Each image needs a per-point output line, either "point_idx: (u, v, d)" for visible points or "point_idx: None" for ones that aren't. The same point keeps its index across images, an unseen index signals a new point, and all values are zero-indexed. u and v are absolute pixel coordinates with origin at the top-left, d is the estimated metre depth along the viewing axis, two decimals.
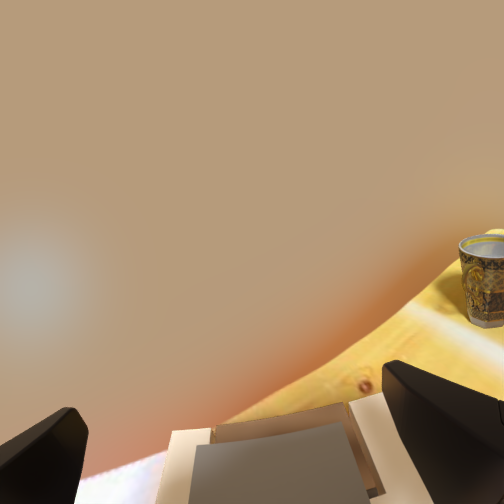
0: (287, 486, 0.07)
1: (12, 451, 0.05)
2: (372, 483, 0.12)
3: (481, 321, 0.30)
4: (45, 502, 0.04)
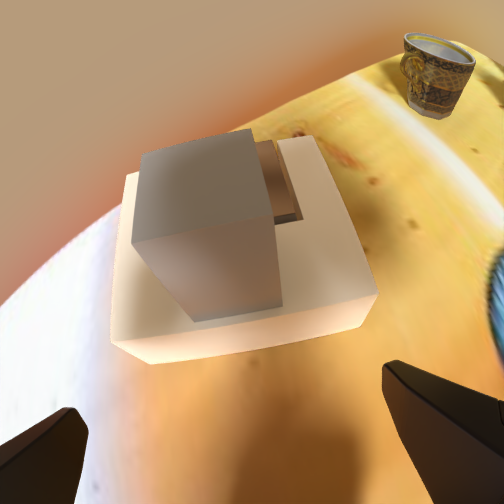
0: (206, 171, 0.12)
1: (12, 451, 0.05)
2: (292, 209, 0.20)
3: (418, 107, 0.34)
4: (45, 502, 0.04)
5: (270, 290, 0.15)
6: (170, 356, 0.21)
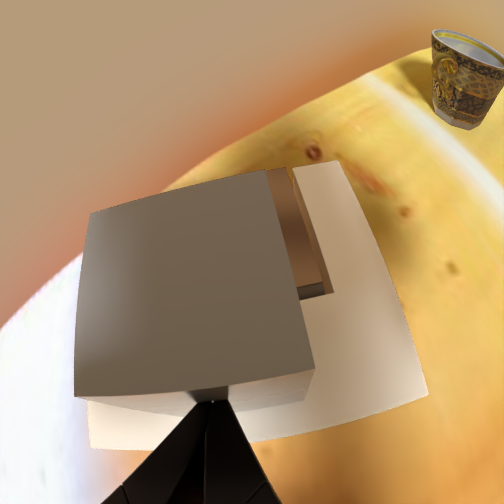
0: (189, 261, 0.07)
1: (167, 471, 0.04)
2: (318, 276, 0.15)
3: (447, 116, 0.28)
4: None
5: (290, 398, 0.10)
6: None
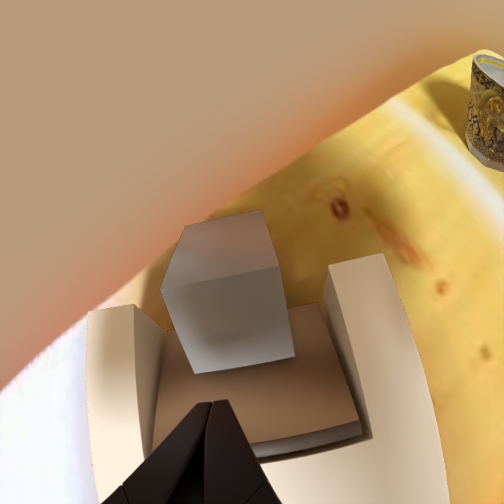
0: None
1: (167, 471, 0.04)
2: (354, 414, 0.12)
3: (483, 156, 0.24)
4: None
5: (261, 245, 0.15)
6: None
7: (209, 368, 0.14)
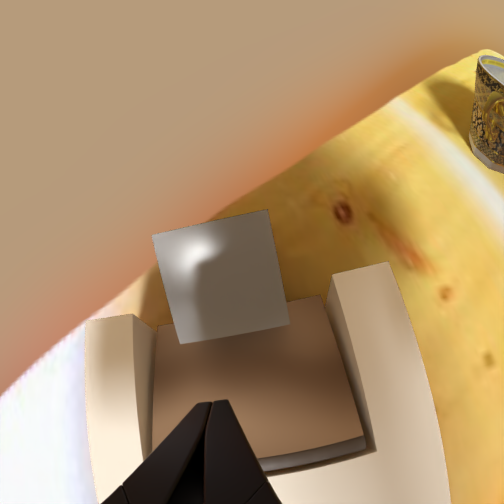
0: None
1: (167, 471, 0.04)
2: (359, 429, 0.11)
3: (487, 158, 0.24)
4: None
5: None
6: None
7: (196, 336, 0.13)
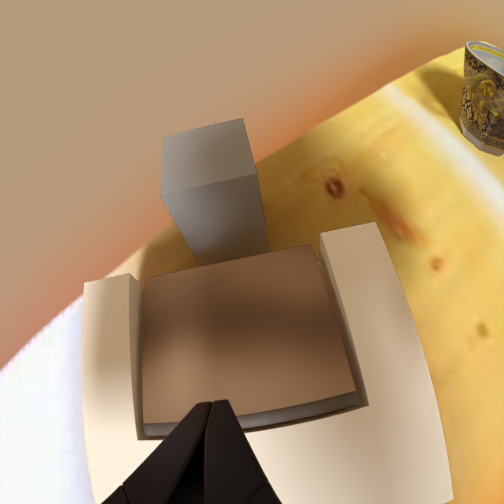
0: None
1: (167, 471, 0.04)
2: (351, 384, 0.12)
3: (477, 140, 0.24)
4: None
5: None
6: None
7: (175, 188, 0.15)
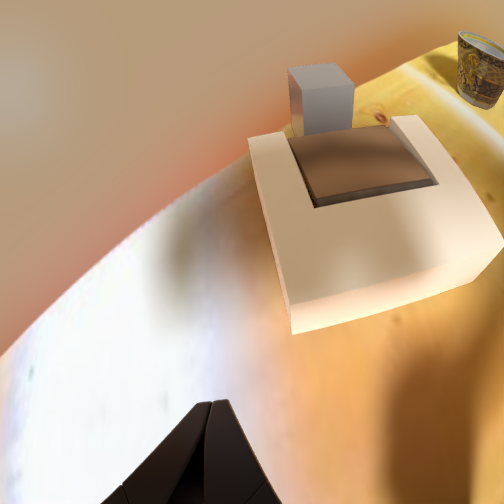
0: None
1: (167, 471, 0.04)
2: (427, 175, 0.20)
3: (470, 98, 0.33)
4: None
5: None
6: (325, 320, 0.20)
7: (310, 87, 0.24)
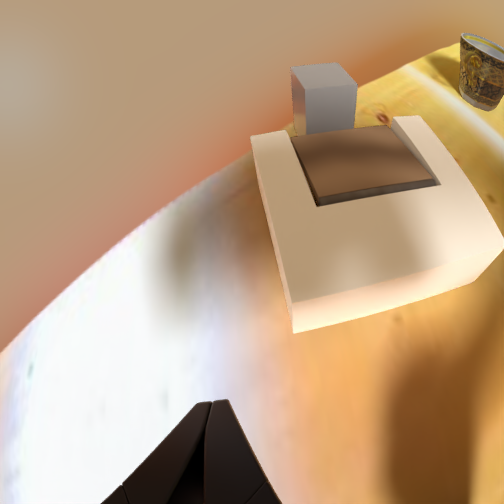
0: None
1: (167, 471, 0.04)
2: (429, 175, 0.20)
3: (472, 99, 0.33)
4: None
5: None
6: (327, 319, 0.20)
7: (313, 86, 0.24)
